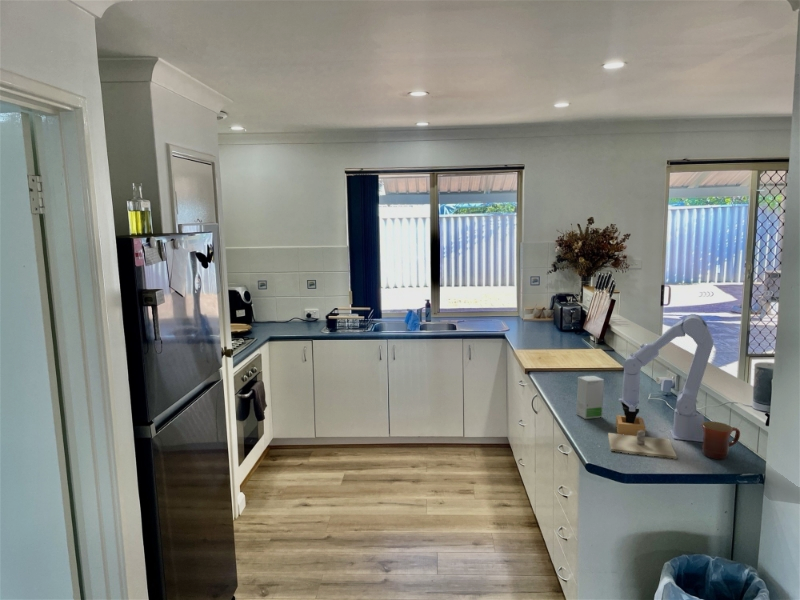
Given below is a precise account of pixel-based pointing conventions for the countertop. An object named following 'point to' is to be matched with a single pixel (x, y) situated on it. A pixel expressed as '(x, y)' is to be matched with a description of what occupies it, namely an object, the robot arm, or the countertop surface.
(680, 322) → the robot arm
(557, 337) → the countertop surface
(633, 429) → the wooden open tray
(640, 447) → the plate
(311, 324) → the countertop surface
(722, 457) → the mug
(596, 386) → the skincare box
